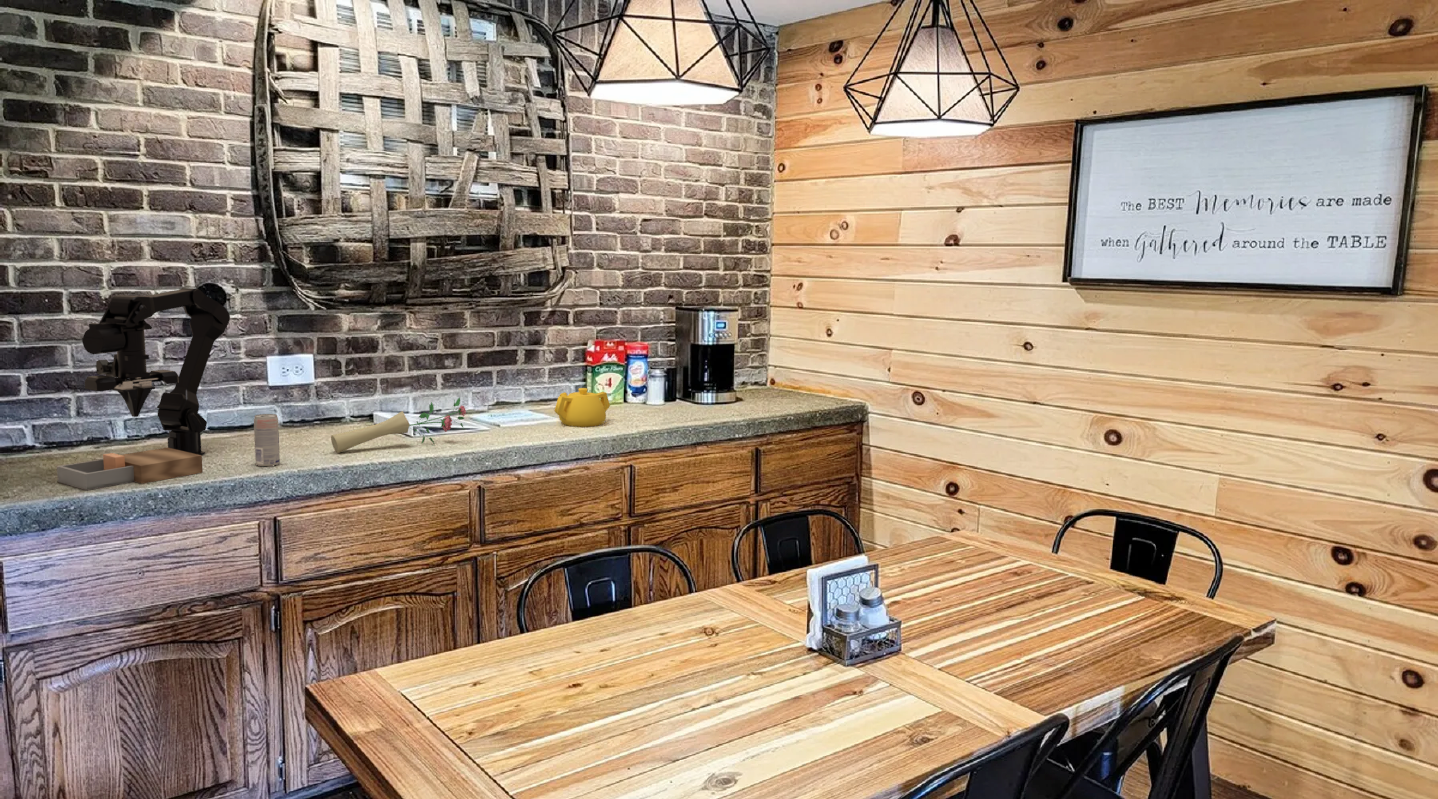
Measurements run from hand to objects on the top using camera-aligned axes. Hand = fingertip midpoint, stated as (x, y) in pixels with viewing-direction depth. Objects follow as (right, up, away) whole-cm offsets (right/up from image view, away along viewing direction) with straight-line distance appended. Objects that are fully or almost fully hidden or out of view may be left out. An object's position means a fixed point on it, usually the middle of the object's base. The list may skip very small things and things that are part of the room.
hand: (135, 416), depth 234 cm
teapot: (+93, -3, +77) cm, 121 cm away
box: (-1, -14, -13) cm, 19 cm away
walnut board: (+7, -13, -4) cm, 15 cm away
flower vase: (+51, -9, +34) cm, 62 cm away
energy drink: (+27, -12, +9) cm, 31 cm away
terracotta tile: (+2, -11, -10) cm, 15 cm away
